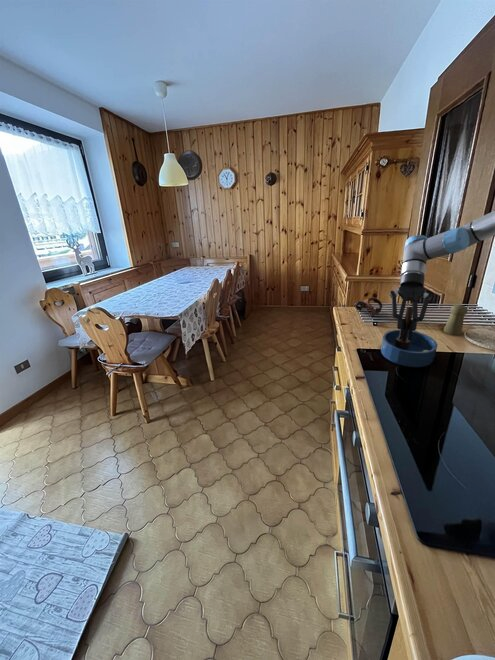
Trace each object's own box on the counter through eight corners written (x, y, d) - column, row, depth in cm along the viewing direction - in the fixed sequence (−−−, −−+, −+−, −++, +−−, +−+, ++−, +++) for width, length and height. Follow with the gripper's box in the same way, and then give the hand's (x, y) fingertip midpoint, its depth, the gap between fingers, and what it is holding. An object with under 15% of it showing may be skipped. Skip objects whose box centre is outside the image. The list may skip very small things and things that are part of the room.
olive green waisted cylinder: (461, 336, 109) (469, 310, 104) (442, 332, 112) (449, 307, 107) (462, 330, 113) (470, 304, 108) (444, 327, 116) (451, 302, 111)
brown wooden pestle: (410, 346, 101) (420, 308, 94) (405, 351, 99) (414, 312, 91) (398, 342, 104) (406, 304, 97) (392, 346, 102) (400, 308, 94)
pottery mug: (372, 308, 138) (381, 297, 132) (376, 323, 133) (386, 312, 126) (349, 304, 137) (357, 292, 130) (352, 319, 131) (361, 308, 125)
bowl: (442, 355, 98) (446, 341, 96) (418, 373, 90) (422, 358, 88) (396, 338, 111) (399, 325, 108) (371, 352, 102) (373, 339, 100)
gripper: (434, 283, 101) (428, 345, 96) (388, 280, 107) (379, 338, 102) (440, 272, 95) (433, 338, 89) (390, 270, 101) (381, 331, 95)
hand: (405, 338), depth 95 cm, fingers closed on brown wooden pestle, 2 cm apart
